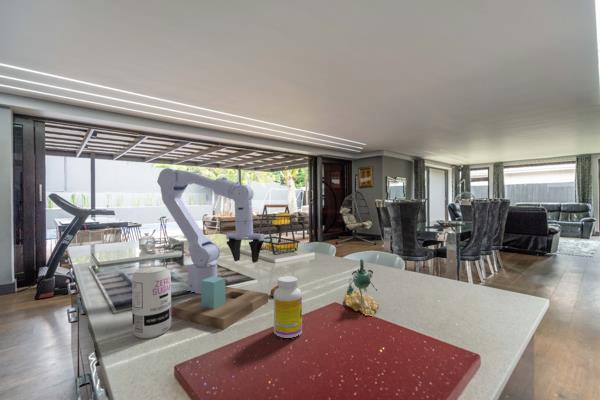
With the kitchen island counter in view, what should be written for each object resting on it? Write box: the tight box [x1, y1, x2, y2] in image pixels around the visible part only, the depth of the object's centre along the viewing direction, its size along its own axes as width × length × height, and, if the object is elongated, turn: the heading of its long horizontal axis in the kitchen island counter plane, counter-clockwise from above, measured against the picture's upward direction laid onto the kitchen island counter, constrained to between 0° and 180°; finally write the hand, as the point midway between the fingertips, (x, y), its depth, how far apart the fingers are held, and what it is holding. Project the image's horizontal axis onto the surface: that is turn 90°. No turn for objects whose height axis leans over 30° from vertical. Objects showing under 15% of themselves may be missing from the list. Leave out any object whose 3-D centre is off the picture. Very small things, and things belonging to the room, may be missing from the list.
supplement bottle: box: [273, 275, 303, 339], centre depth 67 cm, size 7×7×13 cm
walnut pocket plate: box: [171, 286, 269, 330], centre depth 82 cm, size 18×20×2 cm
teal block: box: [200, 276, 226, 309], centre depth 79 cm, size 4×4×7 cm
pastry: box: [270, 284, 299, 297], centre depth 94 cm, size 9×7×4 cm
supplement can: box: [131, 265, 172, 339], centre depth 68 cm, size 8×8×15 cm
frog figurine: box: [344, 258, 380, 317], centre depth 84 cm, size 10×18×15 cm, turn 2°
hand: (246, 261), depth 96 cm, fingers open, 7 cm apart
